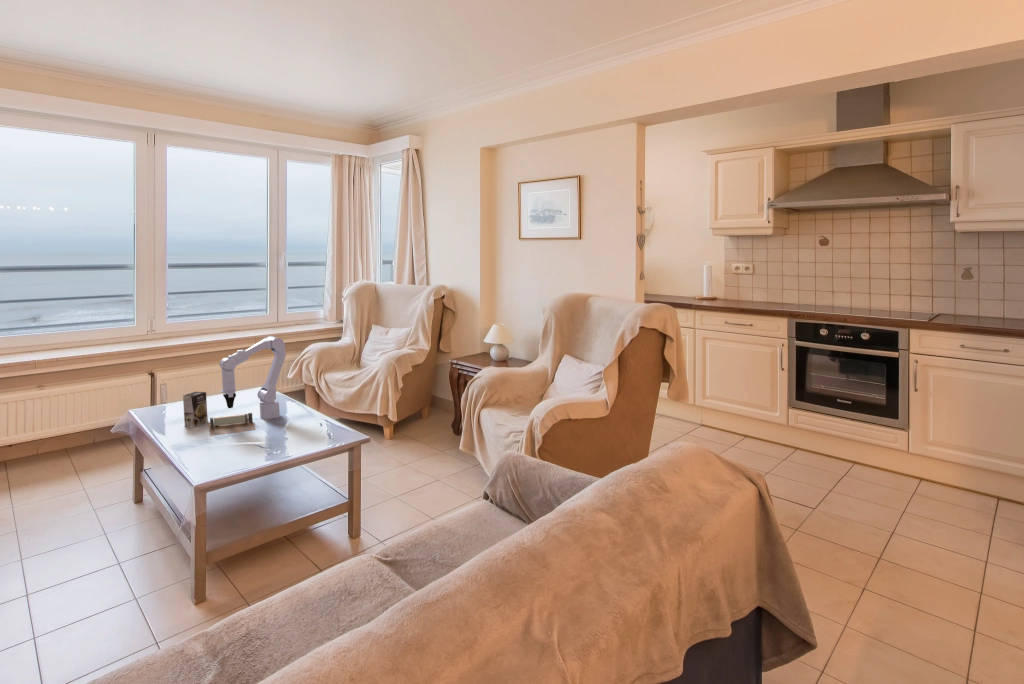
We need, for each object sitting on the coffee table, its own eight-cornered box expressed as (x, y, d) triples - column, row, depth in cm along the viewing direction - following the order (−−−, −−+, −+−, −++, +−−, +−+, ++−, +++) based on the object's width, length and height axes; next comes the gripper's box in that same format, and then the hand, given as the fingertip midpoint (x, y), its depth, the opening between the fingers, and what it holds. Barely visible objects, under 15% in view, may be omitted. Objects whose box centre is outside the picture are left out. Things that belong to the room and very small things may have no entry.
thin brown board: (250, 419, 295) (250, 409, 294) (256, 431, 277) (255, 420, 276) (208, 424, 285) (207, 413, 284) (210, 437, 266) (209, 426, 265)
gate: (247, 421, 288) (247, 413, 287) (248, 422, 286) (247, 414, 286) (214, 425, 280) (213, 417, 279) (214, 426, 279) (213, 418, 278)
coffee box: (195, 427, 280) (193, 396, 277) (184, 426, 281) (182, 395, 278) (208, 422, 289) (206, 391, 286) (197, 421, 290) (195, 390, 287)
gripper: (218, 379, 285) (220, 405, 287) (221, 385, 273) (222, 412, 275) (233, 378, 288) (235, 403, 291) (237, 384, 276) (238, 410, 279)
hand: (230, 407), depth 283 cm, fingers closed
